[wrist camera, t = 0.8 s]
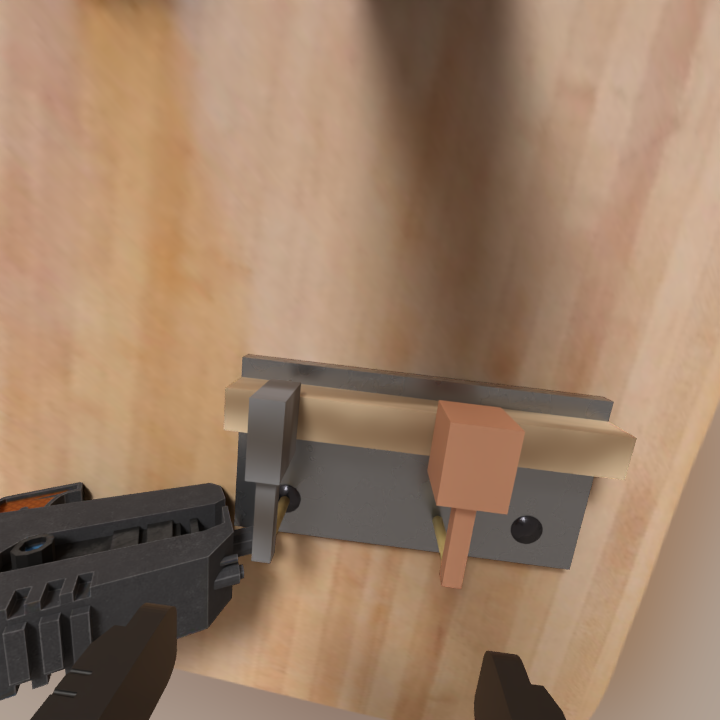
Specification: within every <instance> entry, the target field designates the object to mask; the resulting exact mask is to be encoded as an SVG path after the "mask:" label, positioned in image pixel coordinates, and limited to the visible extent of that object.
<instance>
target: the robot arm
mask: <svg viewBox="0 0 720 720" xmlns="http://www.w3.org/2000/svg"><path fill="white" fill-rule="evenodd" d="M176 652H177V610H176V607H175V606H167V605H160V604H153V603H144V604H143V605H142V606H141V607H140V608H139V609H138V610H137V612H136V613H135V614H134V616H133V617H132V619H131V620H130V621H129V623H128V624H127V625H126V627H125V626H118V625H114V626H113V627H111V628H110V629H109V630H108V631H106V632H105V633H104V634H102V635H101V636H100V637H99V638H97V639H96V640H95V641H93V642H92V643H91V644H90V645H89V646H88V648H87V649H86V650H85V651H84V653H83V654H82V655H81V656H80V658H79V659H78V660H77V661H76V663H75V664H74V665H73V666H72V668H71V671H70V672H69V673H67V674H66V675H65V677H64V678H63V679H62V680H61V682H60V683H59V684H58V686H57V687H56V688H55V690H54V692H53V694H52V695H49V697H48V698H47V699H46V701H45V702H44V703H43V704H42V706H41V707H40V708H39V709H38V711H37V712H36V713H35V714H34V716H33V717H32V718H31V719H30V720H149V718H150V716H151V714H152V712H153V710H154V709H155V707H156V705H157V703H158V701H159V699H160V697H161V695H162V693H163V691H164V689H165V688H166V686H167V683H168V681H169V679H170V676H171V674H172V671H173V668H174V664H175V660H176ZM474 716H475V720H566V718H565V716H564V714H563V712H562V710H561V709H560V708H559V706H558V705H557V704H556V702H555V701H554V700H553V698H552V697H551V696H550V694H549V693H548V692H547V690H546V689H545V687H544V686H540V685H532V684H531V683H530V681H529V678H528V675H527V673H526V670H525V668H524V665H523V663H522V660H521V659H520V657H519V656H518V655H515V654H508V653H501V652H493V651H486V652H485V654H484V658H483V663H482V667H481V671H480V676H479V680H478V685H477V689H476V694H475V700H474Z"/></svg>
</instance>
